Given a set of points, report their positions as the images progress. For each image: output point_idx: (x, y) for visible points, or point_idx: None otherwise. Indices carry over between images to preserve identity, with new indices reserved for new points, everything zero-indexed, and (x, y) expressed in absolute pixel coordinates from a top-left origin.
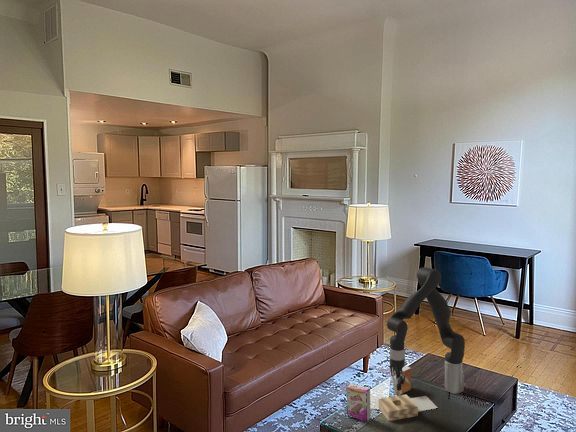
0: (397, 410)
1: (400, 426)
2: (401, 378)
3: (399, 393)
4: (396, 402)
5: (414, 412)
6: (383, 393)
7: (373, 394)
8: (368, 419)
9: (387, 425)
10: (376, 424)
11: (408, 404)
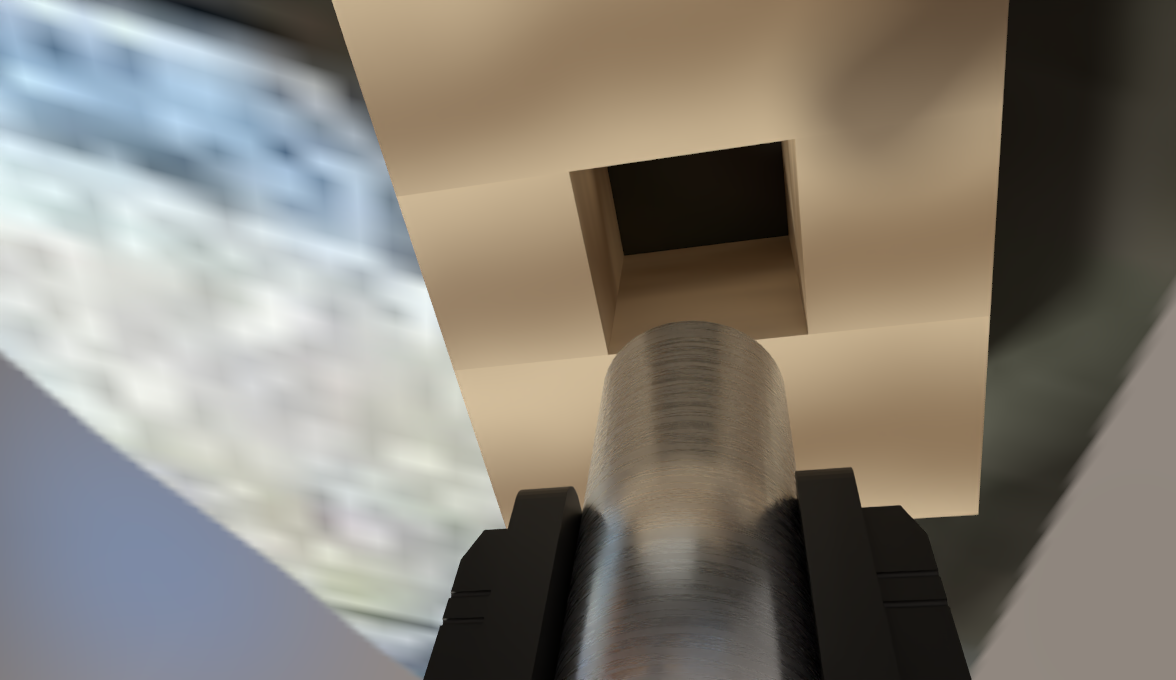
0: (987, 345)
1: (1158, 259)
2: None
3: (782, 402)
4: (591, 228)
5: None
6: (83, 244)
7: (151, 398)
8: None
9: (1039, 437)
10: (956, 554)
11: (826, 13)
